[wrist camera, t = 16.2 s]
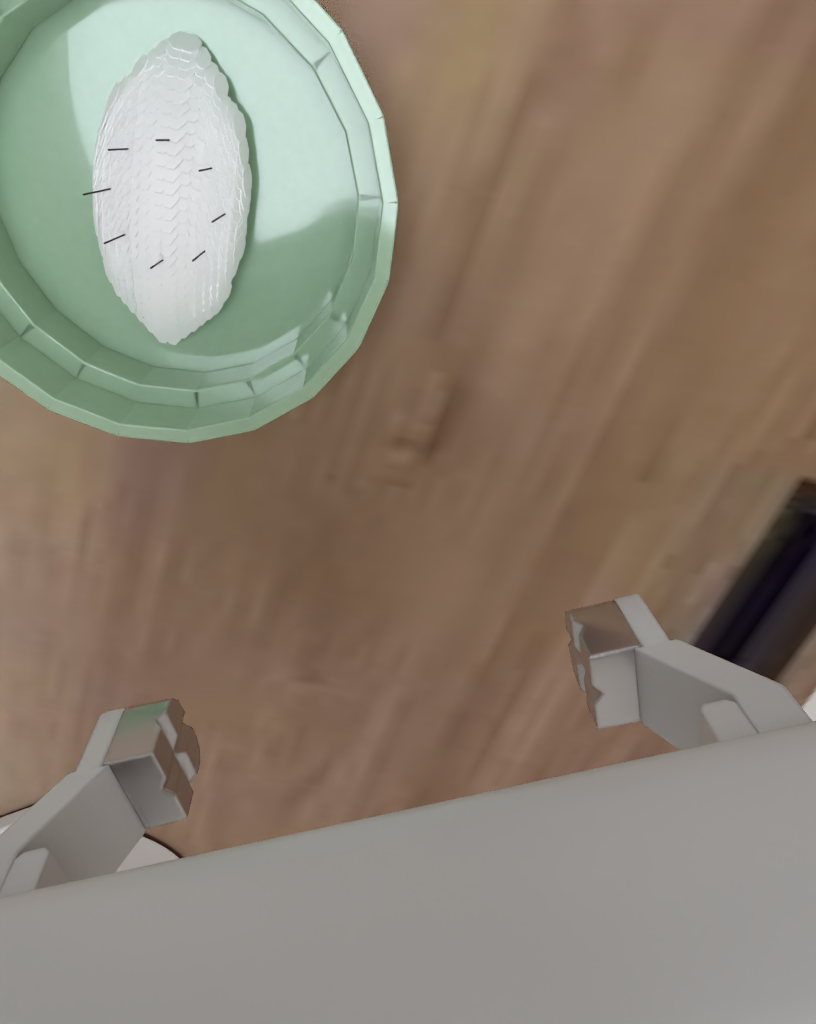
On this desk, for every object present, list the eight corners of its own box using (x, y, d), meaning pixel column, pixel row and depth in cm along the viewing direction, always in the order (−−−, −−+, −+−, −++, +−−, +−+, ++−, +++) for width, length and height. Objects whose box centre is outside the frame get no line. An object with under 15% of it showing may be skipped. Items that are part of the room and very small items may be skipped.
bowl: (63, 426, 35) (13, 478, 30) (-125, -9, 27) (-242, -46, 21) (418, 356, 35) (431, 395, 29) (338, -106, 27) (336, -166, 21)
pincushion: (237, 352, 33) (218, 390, 28) (100, 327, 32) (55, 361, 27) (270, 55, 28) (254, 36, 23) (108, 13, 27) (54, -15, 22)
